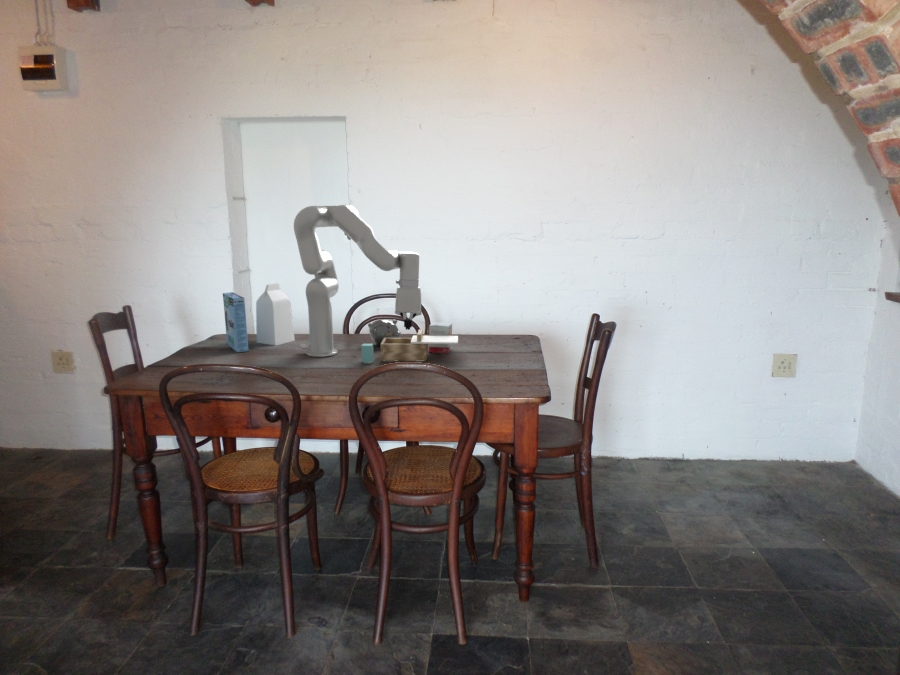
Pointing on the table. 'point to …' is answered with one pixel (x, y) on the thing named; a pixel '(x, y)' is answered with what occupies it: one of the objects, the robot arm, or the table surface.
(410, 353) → the tan open box
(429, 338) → the lid
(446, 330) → the ink box
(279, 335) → the milk
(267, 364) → the table surface
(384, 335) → the piggy bank
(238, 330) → the blue cereal box
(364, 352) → the block
